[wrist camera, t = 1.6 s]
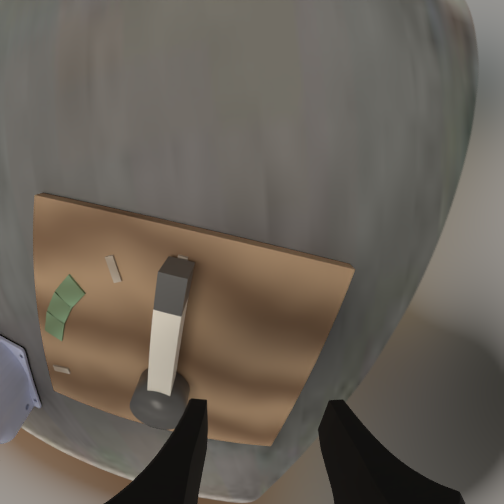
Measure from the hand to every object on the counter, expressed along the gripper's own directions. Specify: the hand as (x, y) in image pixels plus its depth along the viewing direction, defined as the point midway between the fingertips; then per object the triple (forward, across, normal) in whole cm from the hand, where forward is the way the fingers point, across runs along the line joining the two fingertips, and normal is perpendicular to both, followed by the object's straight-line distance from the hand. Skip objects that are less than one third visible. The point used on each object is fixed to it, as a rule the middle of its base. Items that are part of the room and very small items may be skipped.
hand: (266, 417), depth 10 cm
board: (+9, +7, +4) cm, 12 cm away
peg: (+8, +6, +3) cm, 10 cm away
